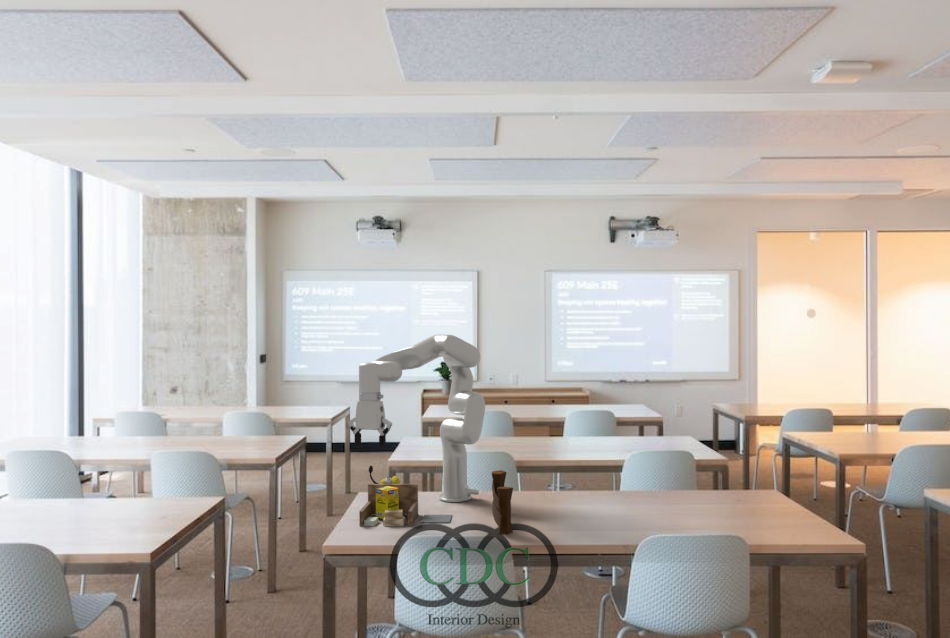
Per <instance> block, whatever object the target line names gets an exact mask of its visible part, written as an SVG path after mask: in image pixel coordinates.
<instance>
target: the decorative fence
mask: <svg viewBox="0 0 950 638" xmlns="http://www.w3.org/2000/svg"><path fill="white" fill-rule="evenodd" d="M506 477H507V471H504V470H494V471H492V472H491V479H492V483H491V490H492V491H491V492H492V506H491V508H492V509H491V512H492V516H493V520H494V522H495V524H496V526H497V527H498V535H504V536H506V535H507V536H508V535H511V534H513V525H512V511H511V510H512V507H511V505H512V504H511V503H512V502H511V501H512V498H513V497H512V495H513V492H514V487H511V486H505V482H506Z"/></svg>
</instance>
